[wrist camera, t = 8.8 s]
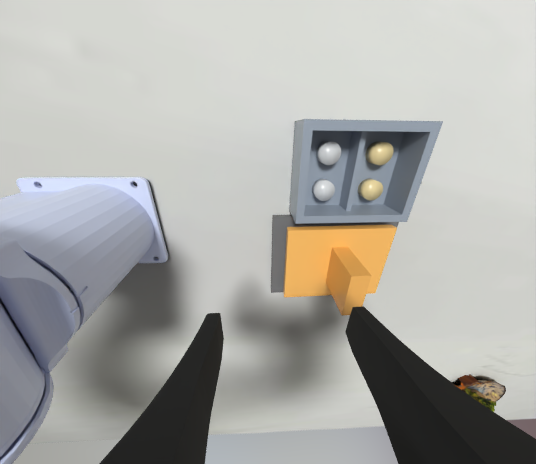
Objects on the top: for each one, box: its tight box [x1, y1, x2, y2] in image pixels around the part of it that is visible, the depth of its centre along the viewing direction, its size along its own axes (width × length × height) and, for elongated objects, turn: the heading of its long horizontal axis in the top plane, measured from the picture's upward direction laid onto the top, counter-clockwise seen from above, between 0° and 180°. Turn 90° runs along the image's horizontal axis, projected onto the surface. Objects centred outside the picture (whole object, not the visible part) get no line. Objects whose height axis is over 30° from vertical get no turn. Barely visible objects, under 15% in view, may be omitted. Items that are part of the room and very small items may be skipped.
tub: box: [289, 119, 443, 224], centre depth 15 cm, size 9×7×3 cm
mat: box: [271, 215, 399, 293], centre depth 20 cm, size 12×9×1 cm
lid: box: [283, 225, 397, 315], centre depth 18 cm, size 10×8×6 cm
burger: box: [455, 375, 506, 412], centre depth 33 cm, size 12×12×8 cm
